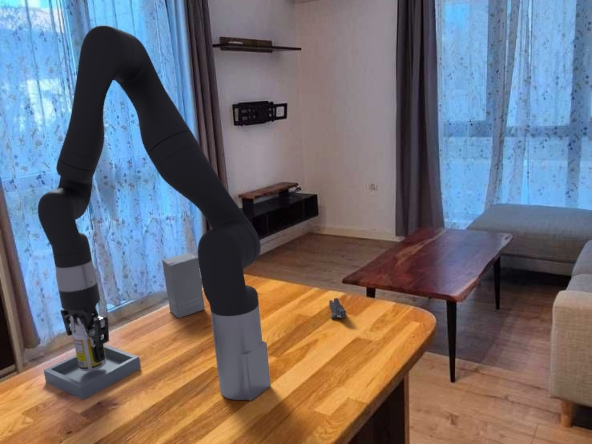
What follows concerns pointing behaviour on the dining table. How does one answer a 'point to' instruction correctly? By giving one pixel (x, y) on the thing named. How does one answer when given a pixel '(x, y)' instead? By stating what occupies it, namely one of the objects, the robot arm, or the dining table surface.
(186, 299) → the skincare box
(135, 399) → the dining table surface
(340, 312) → the animal figurine
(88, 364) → the supplement bottle
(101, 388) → the slate tray
